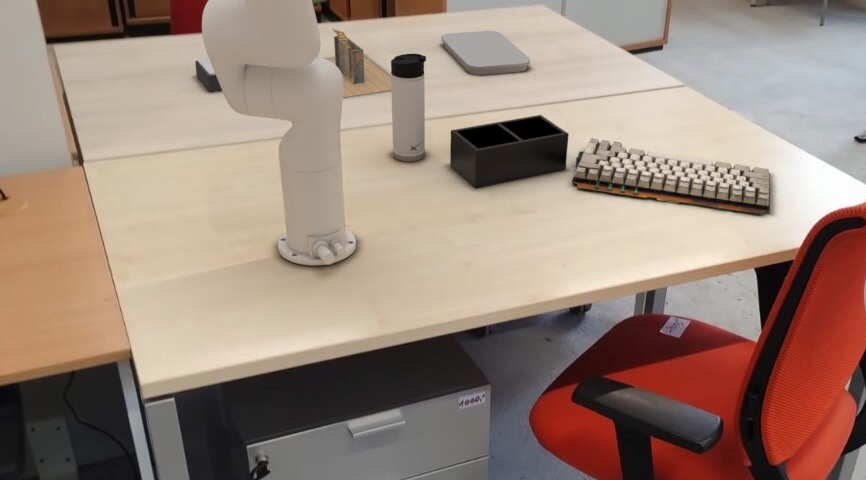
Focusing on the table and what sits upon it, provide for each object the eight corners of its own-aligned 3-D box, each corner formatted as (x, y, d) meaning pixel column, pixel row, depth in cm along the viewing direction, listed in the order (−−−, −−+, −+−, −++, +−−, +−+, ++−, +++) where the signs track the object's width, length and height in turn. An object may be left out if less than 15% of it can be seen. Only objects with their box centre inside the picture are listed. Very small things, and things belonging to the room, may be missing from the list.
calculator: (274, 67, 214) (207, 72, 207) (275, 85, 216) (209, 91, 209) (259, 52, 222) (194, 57, 215) (260, 70, 224) (196, 75, 217)
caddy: (565, 169, 184) (568, 133, 180) (475, 188, 176) (476, 150, 172) (538, 149, 192) (540, 114, 187) (450, 166, 183) (450, 130, 179)
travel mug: (421, 164, 184) (420, 62, 172) (389, 159, 185) (386, 58, 173) (430, 151, 189) (429, 52, 177) (398, 147, 190) (396, 48, 178)
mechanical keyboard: (769, 174, 187) (773, 158, 185) (770, 218, 172) (773, 201, 170) (581, 150, 193) (583, 134, 191) (565, 190, 178) (567, 173, 176)
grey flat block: (496, 38, 250) (497, 30, 249) (533, 71, 230) (534, 62, 229) (438, 43, 245) (438, 34, 244) (470, 76, 225) (470, 67, 224)
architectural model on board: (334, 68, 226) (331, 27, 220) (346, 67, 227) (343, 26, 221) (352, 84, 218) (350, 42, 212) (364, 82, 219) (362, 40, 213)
